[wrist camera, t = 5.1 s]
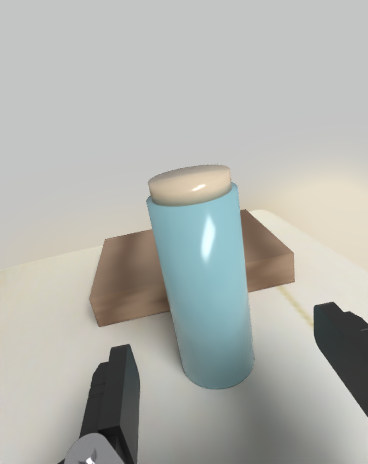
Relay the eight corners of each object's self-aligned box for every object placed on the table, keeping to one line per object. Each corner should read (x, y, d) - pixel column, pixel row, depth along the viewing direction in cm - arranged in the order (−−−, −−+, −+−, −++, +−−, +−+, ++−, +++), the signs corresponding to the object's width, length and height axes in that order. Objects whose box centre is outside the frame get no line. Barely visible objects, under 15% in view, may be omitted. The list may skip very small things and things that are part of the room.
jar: (170, 378, 20) (124, 190, 15) (197, 328, 24) (167, 167, 19) (244, 397, 18) (218, 186, 13) (260, 338, 22) (245, 160, 17)
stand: (99, 326, 27) (89, 298, 25) (111, 260, 39) (105, 239, 37) (294, 281, 28) (293, 252, 27) (247, 230, 40) (245, 209, 39)
